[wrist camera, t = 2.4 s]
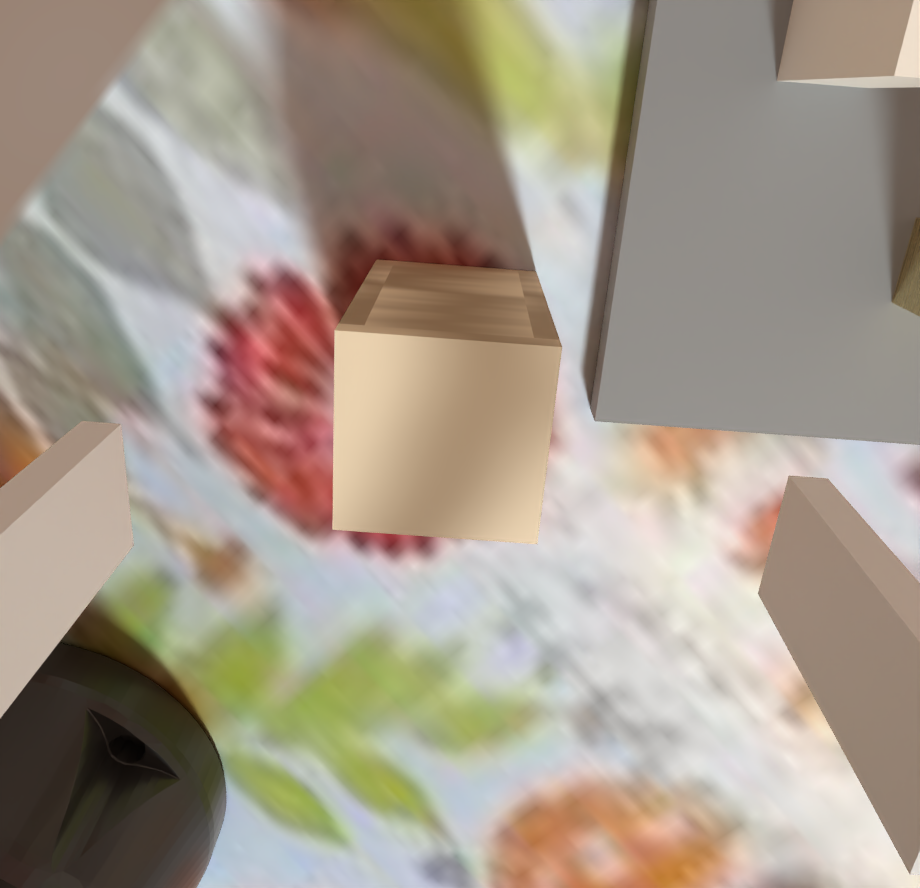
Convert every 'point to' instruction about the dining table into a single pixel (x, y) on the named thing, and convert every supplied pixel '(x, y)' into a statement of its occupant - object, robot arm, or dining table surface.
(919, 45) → the cream rectangular block
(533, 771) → the dining table surface
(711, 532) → the dining table surface
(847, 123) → the slate board
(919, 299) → the brass post
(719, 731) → the dining table surface
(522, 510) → the wooden block
